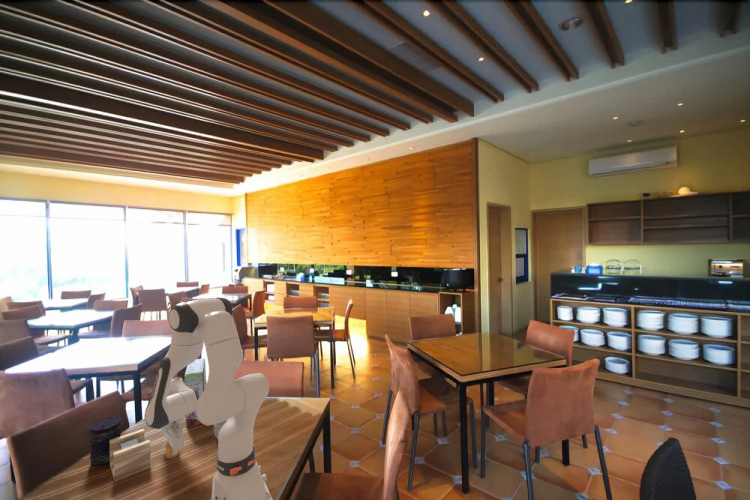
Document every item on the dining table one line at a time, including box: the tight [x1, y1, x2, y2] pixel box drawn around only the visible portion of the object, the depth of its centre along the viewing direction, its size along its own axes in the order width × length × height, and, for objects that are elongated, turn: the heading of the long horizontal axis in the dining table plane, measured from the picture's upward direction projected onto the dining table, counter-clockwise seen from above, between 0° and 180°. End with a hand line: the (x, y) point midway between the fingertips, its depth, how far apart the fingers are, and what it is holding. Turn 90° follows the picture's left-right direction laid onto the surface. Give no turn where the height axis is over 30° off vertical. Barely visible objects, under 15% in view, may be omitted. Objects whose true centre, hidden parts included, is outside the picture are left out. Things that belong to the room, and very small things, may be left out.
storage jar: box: [89, 416, 122, 469], centre depth 131 cm, size 10×10×15 cm
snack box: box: [183, 357, 207, 428], centre depth 165 cm, size 22×9×26 cm, turn 25°
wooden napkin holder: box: [109, 428, 152, 483], centre depth 127 cm, size 13×11×10 cm
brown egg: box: [165, 442, 180, 460], centre depth 134 cm, size 5×5×4 cm
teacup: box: [213, 419, 228, 440], centre depth 148 cm, size 14×11×8 cm
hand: (172, 450), depth 134 cm, fingers closed on brown egg, 5 cm apart
